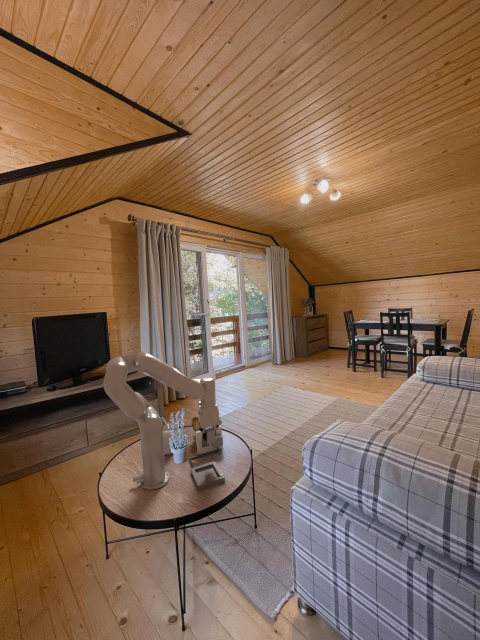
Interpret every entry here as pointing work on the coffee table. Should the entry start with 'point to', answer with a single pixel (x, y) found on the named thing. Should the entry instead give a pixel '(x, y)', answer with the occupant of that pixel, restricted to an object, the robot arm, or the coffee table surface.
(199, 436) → the plate
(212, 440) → the grey rectangular block
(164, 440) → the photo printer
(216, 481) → the charging cradle
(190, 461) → the dark piece
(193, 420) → the toy lion
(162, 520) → the coffee table surface
